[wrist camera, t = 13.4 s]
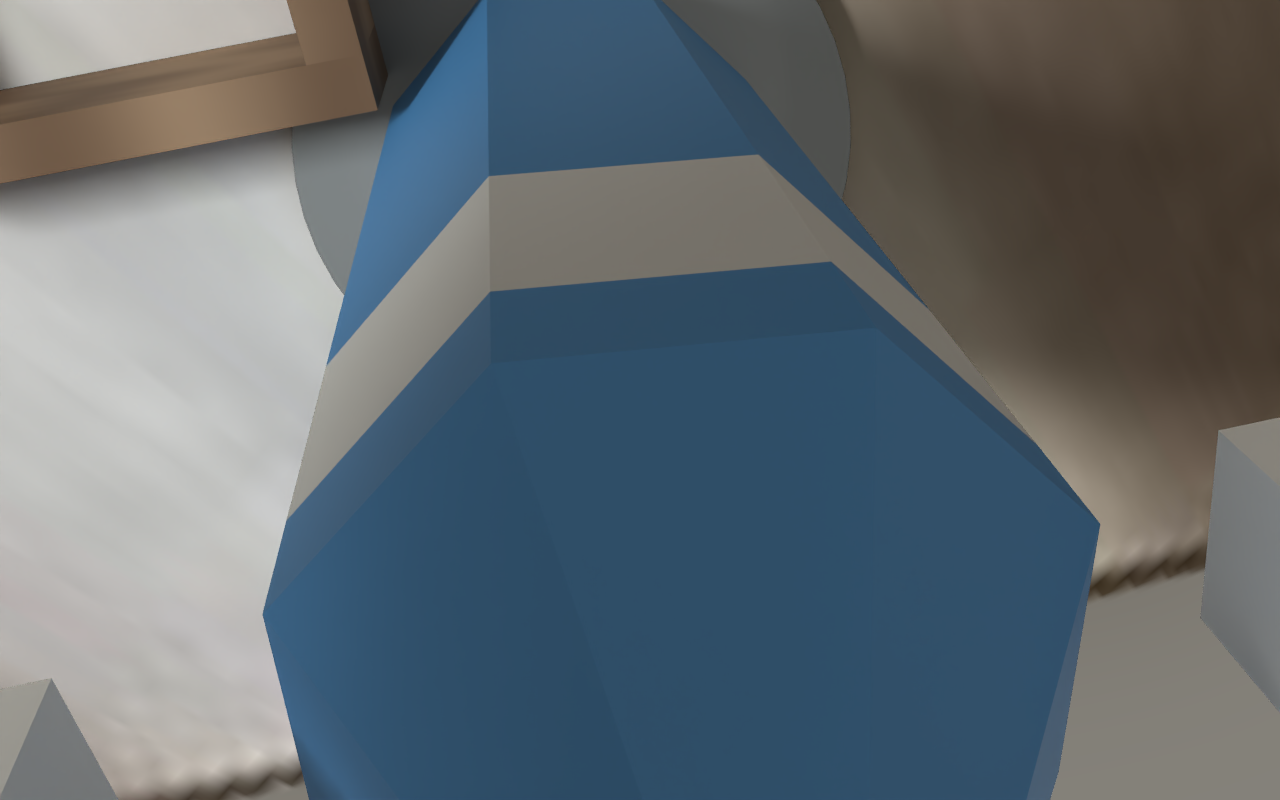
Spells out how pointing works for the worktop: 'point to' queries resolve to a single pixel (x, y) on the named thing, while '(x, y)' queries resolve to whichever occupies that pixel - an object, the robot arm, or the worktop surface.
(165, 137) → the square wooden frame
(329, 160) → the coaster
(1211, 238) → the worktop surface
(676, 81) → the water bottle
